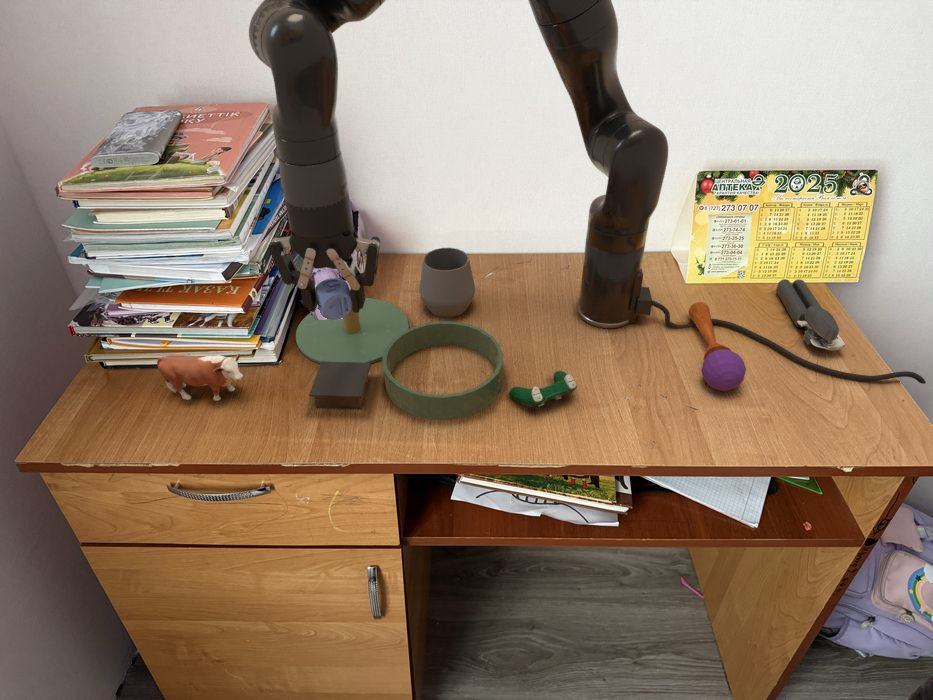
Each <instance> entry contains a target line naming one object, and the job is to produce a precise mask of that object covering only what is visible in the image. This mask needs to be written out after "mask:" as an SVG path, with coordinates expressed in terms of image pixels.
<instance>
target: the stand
mask: <svg viewBox="0 0 933 700" xmlns="http://www.w3.org/2000/svg"><path fill="white" fill-rule="evenodd" d="M371 365H372V363H357V362H321V364H319V366H318V370H317V373H316V375H315V377H314V381H313V384H312V386H311V389H310V392H309V397H310V398H314V401H315V407H316V409H317V408H318V409H342V410H343V409H345V410H346V409H347V410H361V409H362V405H363V402H364V399H365V395H366V391H367V389H368V388H367V387H368V384H369V373H370V372H369V371H370V368H371Z"/></svg>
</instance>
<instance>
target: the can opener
mask: <svg viewBox="0 0 933 700" xmlns="http://www.w3.org/2000/svg"><path fill="white" fill-rule="evenodd" d="M775 290H776V294H777V296H778V297H779V299H780V301H781V302H782V305H783V306H784V308H785V309H786V311H787V313H788V314H789V317H790V318H791V320H792V321H793V323H794V325H795V326H796V327H797V328H800V329H801V328H805V327H806V328H807V330H805V331H804V335H803V340H804V342H805V343H806V345H807V346H810V345H812V346H813V347H815V348H819V349H825V350H827V351H838V350H843V349H844V348H845V347H846V343H845V342H844V340H843V339H842V338H841V336H840V334H839V333H840V328H839V324H838V323H837V321H836V319H835V318H834V316H833V315H832V314H831V313H830V312H829V311H828V310H826V309H824V308H823V307H822V306H821V304H820V303H819V301H818V299H817V298H816V297H815V295H814V294H813V292H812V291H811V289H810V287H808V284H806V282H805V281H804V280H803V279H796V280H794V281H793V282H792V283H791V281H790V280H789V279H785V278H784V279H781V280H779V282H778V284H777V286H776V289H775Z"/></svg>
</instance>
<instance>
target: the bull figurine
mask: <svg viewBox="0 0 933 700" xmlns="http://www.w3.org/2000/svg"><path fill="white" fill-rule="evenodd" d="M240 357H241V353H238V354H236V355H235V356H234V358H233V357H229V356H228V357H226V356H224V355H221V354H220V355H219V354H216V355H185V354H169V355H164V356H160V357H159V358H158V359H157V361H156V367H157V370H158V371H159V374H160V375H161V377H162V378H163V380H164V382H165V385H166V386H167V388H168V389H169V390H170V391H171V392H173V393H175V394H176V393H177V392H178V393H179V394H180V396H181V397H182V399H183V400H186V401H187V400H188V401H189V400H191V399H192V398H193V396H192V395H190V394H188V393H187V392H186V391H185V390H184V388H186V387H187V385H189V386H191V387H203V386H209V387H210V389H211V391H212V393H213V399H212V400H213V401H216V402H217V401H220V400H221V398H222V397H221V396H220V388H221V387H222V388H223V387H226V388H227V391H229V392H234V391H235V390H236V388H235V387H234V386H233V385H232V384H231V383H232V382H233V381H234V382H236V383H237V382H240V381H242V380H243V379H244V378H245V377H244V374H242V373H241V371H240V369H239V364H238V363H239V362H238V361H239V360H240Z"/></svg>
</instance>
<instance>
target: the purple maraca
mask: <svg viewBox="0 0 933 700" xmlns="http://www.w3.org/2000/svg"><path fill="white" fill-rule="evenodd" d="M687 312H688V316H689V317H690V319H691V320H692V323H693V322H694V323H695V325H696V326H695V327H696V329H698V330H699V332H700V334H701V335H702V338H703V339H704V340H705V342H706V343H707V345H708V347H707V348H706V350H705V353H704V356H703V361H702V366H701V373H702V377H703V380H704V382H705V383H706V384H707V385H708V386H709V387H711V388H712V389H715V390H716V391H720V392H721V391H722V392H727V391H731V390H734V389H736V388H737V387H739V386H740V385H741V384H742V383H743V381H744V380H745V376H746V372H747V368H746V364H745V362H744V359H743V358H742V357H741V356H740V354H739V353H736V352H734V351H733V350H732V349H730V347H727V346H725V345H723V344H720V343H719V342H717V339H716V334H715V331H714V326H713V325H714V324H712V320H711V319H712V317H711V312H710V307H709V305H708V304H707V303H705V302H702V301H697V302H695V303H693V304H691V305H690V306H689V308H688V311H687Z"/></svg>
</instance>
